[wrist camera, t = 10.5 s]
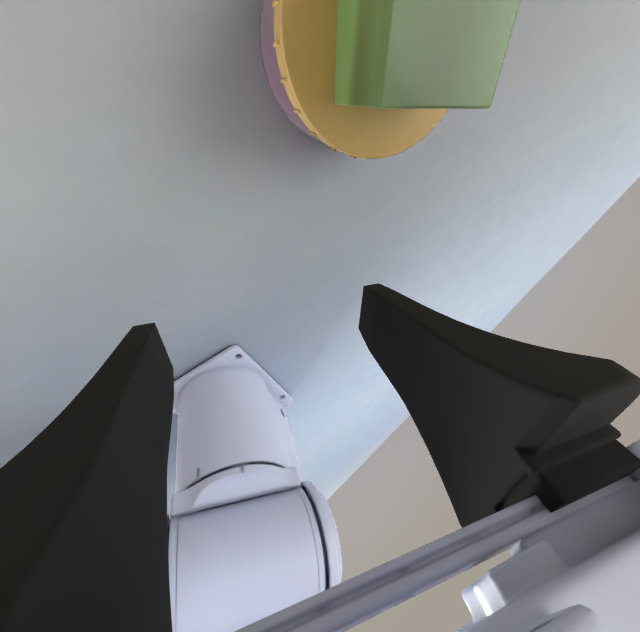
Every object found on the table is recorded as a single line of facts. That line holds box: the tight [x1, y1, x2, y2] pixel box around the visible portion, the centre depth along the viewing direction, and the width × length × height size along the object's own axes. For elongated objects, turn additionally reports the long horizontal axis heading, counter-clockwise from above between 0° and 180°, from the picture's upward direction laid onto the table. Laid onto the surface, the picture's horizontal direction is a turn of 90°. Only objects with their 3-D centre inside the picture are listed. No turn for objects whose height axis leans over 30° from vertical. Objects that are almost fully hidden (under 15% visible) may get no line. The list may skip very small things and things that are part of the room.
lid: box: [272, 0, 448, 159], centre depth 12 cm, size 9×9×1 cm
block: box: [334, 0, 521, 109], centre depth 10 cm, size 4×4×4 cm
